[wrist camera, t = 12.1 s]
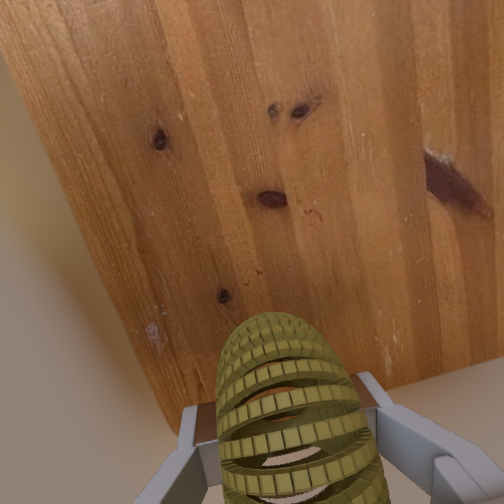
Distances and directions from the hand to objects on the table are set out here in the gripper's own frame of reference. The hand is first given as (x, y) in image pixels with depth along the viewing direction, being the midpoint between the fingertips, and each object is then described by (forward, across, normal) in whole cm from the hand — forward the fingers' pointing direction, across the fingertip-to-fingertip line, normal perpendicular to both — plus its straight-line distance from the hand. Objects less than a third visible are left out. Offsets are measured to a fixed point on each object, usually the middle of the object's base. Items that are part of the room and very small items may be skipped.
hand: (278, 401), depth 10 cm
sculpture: (+3, 0, 0) cm, 3 cm away
